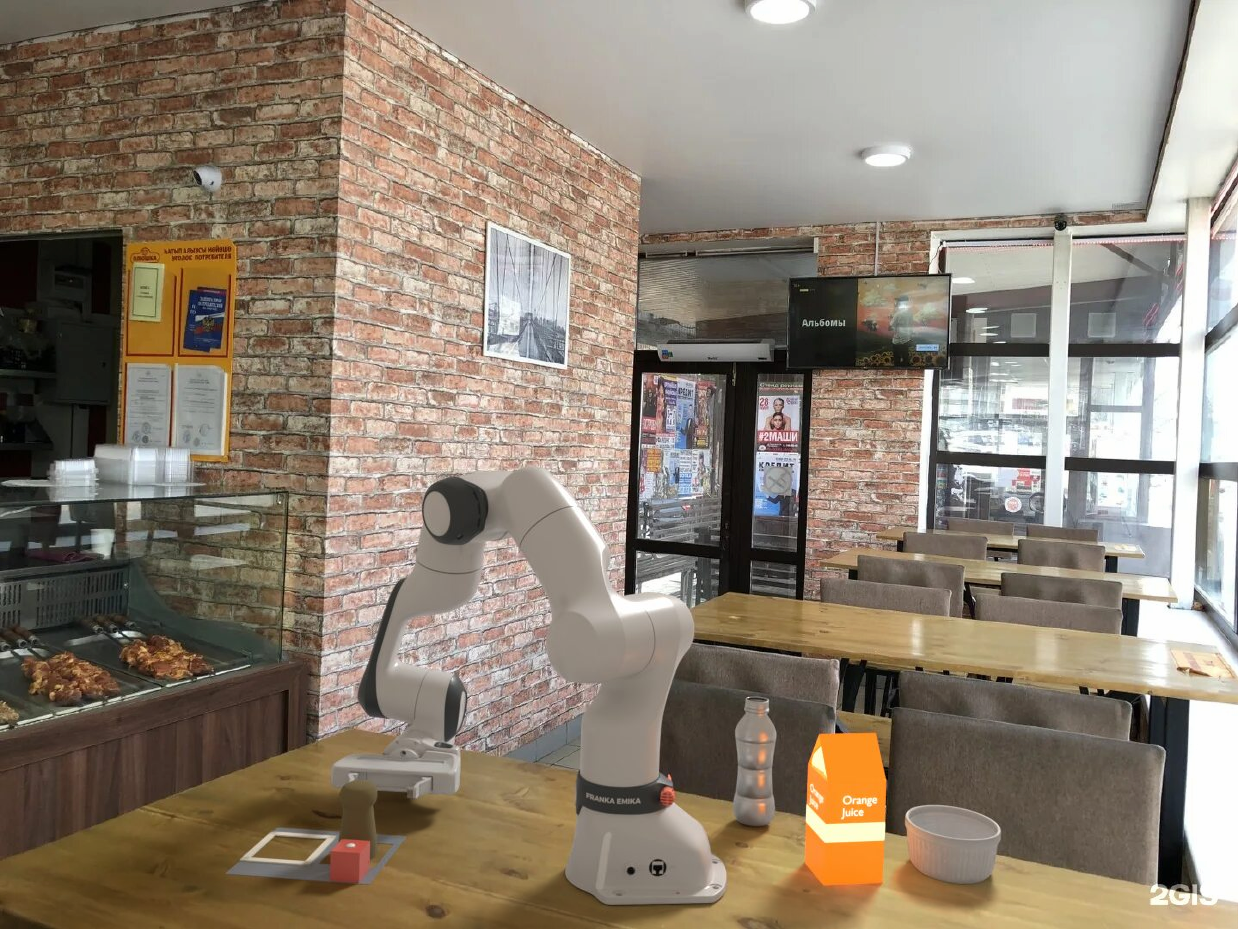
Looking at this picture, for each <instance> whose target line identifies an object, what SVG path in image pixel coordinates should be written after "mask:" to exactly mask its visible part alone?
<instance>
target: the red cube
mask: <svg viewBox="0 0 1238 929" xmlns="http://www.w3.org/2000/svg"><path fill="white" fill-rule="evenodd" d="M329 858H330V881H341V882H354V883H359V882H360V881H361V880H362V879H363V877H364V876H365V875H366V874H367V872H368V871H369V868H370V867H371V866H370V865H371V864H370V862H371V861H370V841H363V840H349V839H341V841H340V842H339V843H338V844H337V845H336V846H335V847H334V848H333V849H332V850H331V851H330V857H329Z"/></svg>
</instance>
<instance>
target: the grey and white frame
mask: <svg viewBox="0 0 1238 929" xmlns="http://www.w3.org/2000/svg"><path fill="white" fill-rule="evenodd" d="M339 834H340V831H335V830H334V831H333V830H319V829H317V830H316V829H306V828H305V829H303V828H293V827H292V828H291V827H276V828H274V830H272V831H270V832H269V833H268V834H267V835H266V836H264V838H262V839H260V841H259V842H258V843H256V844H255V845H254V846H253V847H252V848H251V849H250V850H248V851H247V852H246V853H245V854H244V855H243V856H242V857H241V858H239V861H237V863H235V865H232V867H231V868H230V869H229V870H227V871H226V873H224V875H233V876H234V875H235V876H244V877H245V876H247V877H248V876H249V877H261V878H274V879H286V880H287V879H289V880H300V881H301V880H302V881H314V882H315V881H316V882H326V883H327V882H330V883H343V884H353V885H354V884H355V885H357V884H358V885H368V886H369V885H370V884H371V883H372V882H374V879H375V878H376V877H377V875H378V874H379V873H380V872H381V870H382V869H383V868H384V867H385V865H386V864H387V863H388V862H389V860H390V858H391V857H392V856H393V855H394V854H395V853H396V851H397V850H398V848H399V847H400V846H401V844H402V843H403V842H404V840H405V839H406V838H407V836H406V835H395V834H394V835H393V834H392V835H391V834H379V833H378V834H377V833H376V836H377V844H382V845H383V844H384V845H392V846H391V847H390V848H389V849H388V850H387V852H386V853H384V854H385V855H383V856H382V858H381V860H380V861H378V863H377V865H376V866H375V867H373V866H370V868H369V871H368V872H367V874H366V875H365V876H364V877H363V879H362V880H361V881H360V882H359V883H354V882H341V881H330V864H328V863H322V861H323V860H324V859H325V858H326V857H327V856H328V855H329V854H331V850H332V849H333V848H334V847H335V846H336V845H337V844H338V840H339ZM275 837H282V838H283V837H284V838H295V839H296V838H297V839H298V838H299V839H309V840H310V839H312V840H324V841H322V843H321V844H320V845H319V846H318V847H317V848H316V849H315V850H314V851H313V852H312V853H311V854H310V856H308V858H307V859H305V860H295V859H294V860H293V859H283V858H282V859H280V858H269V857H268V858H267V857H254V856H255V855H256V854H257V853H258V852H259V851H260V850H261V849H262V848H263V847H265V846H266V844H268V843H270V841H271V840H273V839H274V838H275Z"/></svg>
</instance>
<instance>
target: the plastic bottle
mask: <svg viewBox="0 0 1238 929" xmlns="http://www.w3.org/2000/svg"><path fill="white" fill-rule="evenodd" d="M744 701H745V704H744V707H743V709H744V712H745V714H744V715H743V716H742V717H741V719H739V721H738V723H737V724H736V728H735V730H734V732H735V733H734V734H735V736H734V737H735V744H736V751H737V764H738V765H737V779H736V787H735V793H734V797H733V803H732V810H733V815H734V817H735V818H736V821H738V822H739V823H740V824H742V825H744V826H745V825H746V826H749V827H750V826H751V827H763V826H768V825H769V824H770V823H771V822H772V821H773V820H774V816H775V812H776V806H775V798H774V797H775V796H774V794H773V775H772V774H773V768H772V767H773V764H774V763H773V762H774V761H773V760H774V753H775V746H776V742H777V741H776V740H777V731H776V728H775V725H774V723H773V722H772V720H771V719H770V717H769V716H768V714H769V713H770V707H769V706H770V705H769V704H770V700H769V698H767V697H761V696H748V697H746V698H745V700H744Z"/></svg>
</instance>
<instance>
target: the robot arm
mask: <svg viewBox="0 0 1238 929" xmlns="http://www.w3.org/2000/svg"><path fill="white" fill-rule="evenodd" d="M421 503H422V505H421V515H422V521H423V522H422V526H421V530H420V534H419V537H418V538H419V539H418V543H417V544H418V545H417V549H416V559H415V563H414V566H413V567H412V570H411V572H410V574H409V575H408V576H406V577H402V578H400V579H399V580H398V581H397V582H396V583H395V585H394V587H393V588H392V590H391V592H390V595H389V597H388V599H387V600H386V601H387V602H386V604H385V607H384V611H383V614H382V617H381V620H380V622H379V627H378V630H377V633H376V636H375V639H374V642H373V646H372V649H371V652H370V656H369V659H368V661H367V664H366V667H365V670H364V672H363V674H362V676H361V678H360V680H359V685H358V689H357V697H356V698H357V701H358V703H359V705H360V707H361V708H362V709H363V711H364V713H366V715H367V716H368V717H371V718H377V719H378V718H379V719H385V720H394V721H400V722H403V723H409V724H411V725H409V726H408V727H406V729H405V730H403V732H402V733H401V734H399V735H398V736H397V737H395V739H394V740H392V741H391V743H389V744H388V745H387V746H386V747H385V749H384V750H383V752H382V754H379V753H377V754H376V753H366V752H365V753H363V752H361V753H360V752H359V753H352V754H351V753H350V754H348V755H345V756H343V757H342V758H341V759H339V760H337V761H336V762H335V763H333V764H332V765H331V770H330V782H331V786H332V787H334V789H342V787H343V786H344V785H345V784H346V783H348V782H350V781H355V780H367V781H370V782H372V783H374V784H375V786H376V787H377V792H379V791H381V792H395V793H407V794H406V798H407V799H416V800H417V799H418V797H420V796H423V795H427V794H429V795H445V796H448V795H450V796H451V795H454V794H456V793H457V791H458V790H459V788H460V782H461V779H460V777H461V767H462V766H461V759H462V758H461V749H460V746H458V745H455V739H456V735H457V734H458V733H459V732H460V730H461V729H462V727H463V724H464V721H465V717H466V713H467V708H468V693H467V692H468V691H466V687H465V685H464V683H463V681H462V679H461V678H460V677H459V676H458V674H455V673H452V672H446V671H443V670H438V669H433V668H428V667H427V668H426V667H423V666H417V665H413V664H409V663H405V662H403V661H401V660H400V659H399V657H398V653H399V650H400V647H401V644H402V640H403V638H404V634H405V633H406V632H405V631H406V628H407V626H408V622H409V621H412V620H413V619H417V618H421V617H427V616H435V615H443V614H446V613H450V612H453V611H456V610H457V609H461V607H463V606H465V605H466V604H467V603H469V602H470V601H471V600H472V599H473V598H474V597H475V596H476V594H477V592H478V589H479V586H480V582H481V579H482V572H483V566H484V558H485V557H484V556H485V548H486V547H485V545H486V542H498V541H504V540H506V539H511V538H512V539H513V541H514V543H515V544H516V546H517V548H518V549H519V551H520V552H521V554H522V555H523V557H524V558H525V560H526V561H527V563H528V565H529V566H530V568H531V570H532V571H533V573H534V574H535V576H536V578H537V579H538V582H539V583H540V584H541V586H542V588H543V590H544V592H545V594H546V597H547V600H548V603H549V606H550V607H549V608H550V614H551V622H550V625H549V626H548V629H547V632H546V636H545V637H546V638H545V647H546V654H547V658H548V661H549V663H550V665H551V667H552V668H553V671H555V673H556V674H557V675H558V676H559V677H560V678H562V680H563V679H564V680H565V681H567V682H569V683H575V684H576V683H577V684H596V685H598V684H600V686H599V689H598V692H597V693H596V695H595V697H594V698H593V700H592V701H591V702H590V704H589V705H588V707H587V708H586V709H585V711H584V713H583V716H582V719H581V722H580V723H581V726H580V755H579V756H580V759H579V762H580V764H579V770H578V772H577V774H576V778H575V779H576V780H575V785H574V786H575V790H574V793H575V794H574V806H575V813H576V822H575V828H574V835H573V841H572V846H571V850H570V855H569V858H568V861H567V863H566V866H565V869H564V873H565V877H566V879H567V880H568V881H569V883H571V884H572V885H573V886H574V887H576V888H577V889H578V888H579V889H580V890H582V891H585V892H586V893H589V894H590V895H593V896H594V897H595V898H596V899H597V900H598V901H599V902H601V903H603V904H604V905H610V906H611V905H612V906H613V905H617V906H618V905H621V906H622V905H664V904H665V905H668V904H670V905H672V904H675V905H677V904H709V903H710V904H712V903H715V902H717V901H718V900H719V899H721V898H722V897H723V895H724V894H725V892H726V891H727V886H728V883H727V882H728V879H727V878H728V877H727V876H728V875H727V870H726V869H727V868H726V867H725V864H724V863H723V861H722V860H721V859H720V858H719V857H718V856H716V855H715V854H713V853H712V849H711V844H710V841H709V837H708V835H707V834H708V833H707V831H706V830H705V828H704V826H703V825H702V824H701V822H699V821H698V820H697V819H695V818H694V817H692V816H691V815H690V814H689V813H688V812H686V811H685V810H684V809H682V808H681V807H680V806H679V805H678V804H676V802H675V800H676V792H675V790H674V782H673V781H672V777H671V775H670V774H668V775H667V776H665V775H664V774H663V773H662V772H660V771H659V770H660V752H661V751H660V750H661V734H662V724H663V723H662V721H663V716H664V711H665V707H666V703H667V699H668V695H669V692H670V690H671V686H672V683H673V680H674V677H675V674H676V672H677V668H678V667H679V664H680V663H681V661H682V659H683V657H684V656H685V654H686V653H687V652H688V651H689V650H690V648H691V646H692V644H693V641H694V638H695V628H696V627H695V622H694V618H693V615H692V612H691V610H690V609H689V607H688V606H687V604H686V603H685V602H684V601H683V600H681V599H680V598H678V597H677V596H674V595H671V594H666V593H663V592H662V593H661V592H655V591H644V592H639V593H634V594H633V593H632V594H626V595H622V594H619V593H618V592H617V591H616V590H615V589H614V587H613V585H612V583H611V581H610V579H609V575H608V572H607V571H608V569H609V567H610V563H611V558H612V554H611V553H612V552H611V548H610V546H609V545H608V543H607V542H606V541H605V539H604V538H603V536H602V535H601V533H600V532H599V531H598V529H597V528H596V526H595V525H594V523H593V522H592V521H591V519H590V518H589V517H588V515H587V514H586V512H585V511H584V509H583V507H582V506H581V505H580V504H579V502H578V501H577V500H576V499H575V498H574V496H573V495H572V494H571V492H570V491H569V490H568V489H567V488H566V487H565V486H564V485H563V483H561V481H559V479H557V478H556V477H555V476H554V475H553V474H552V473H551V472H549V471H548V470H547V469H545V468H544V467H541V466H537V465H529V466H528V465H527V466H522V467H520V468H518V469H513V470H497V471H495V470H493V471H488V470H486V471H478V472H472V473H467V474H462V475H459V476H456V475H455V476H454V475H453V476H448V477H445V478H442V479H440V480H438V481H435V482H434V483H432V484H431V485H430V486H429V487H428V489H426V491H425V493H424V497H423V499H422V502H421Z"/></svg>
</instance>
